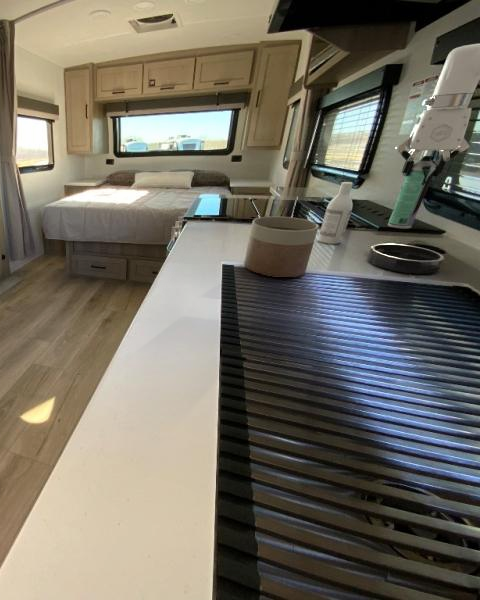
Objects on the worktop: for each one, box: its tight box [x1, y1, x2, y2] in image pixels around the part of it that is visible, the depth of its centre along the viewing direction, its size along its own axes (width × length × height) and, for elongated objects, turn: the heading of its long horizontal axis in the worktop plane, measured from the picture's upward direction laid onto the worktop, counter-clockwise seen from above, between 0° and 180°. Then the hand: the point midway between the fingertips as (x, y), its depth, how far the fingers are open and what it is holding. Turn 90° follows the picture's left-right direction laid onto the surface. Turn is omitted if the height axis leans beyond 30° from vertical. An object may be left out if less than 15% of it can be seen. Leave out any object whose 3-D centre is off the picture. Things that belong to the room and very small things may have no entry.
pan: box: [366, 243, 445, 275], centre depth 96 cm, size 15×15×4 cm
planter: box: [243, 215, 319, 278], centre depth 94 cm, size 16×16×14 cm
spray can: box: [387, 155, 437, 229], centre depth 97 cm, size 6×6×20 cm
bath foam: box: [317, 181, 354, 245], centre depth 113 cm, size 7×7×20 cm
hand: (419, 175), depth 95 cm, fingers closed on spray can, 5 cm apart
